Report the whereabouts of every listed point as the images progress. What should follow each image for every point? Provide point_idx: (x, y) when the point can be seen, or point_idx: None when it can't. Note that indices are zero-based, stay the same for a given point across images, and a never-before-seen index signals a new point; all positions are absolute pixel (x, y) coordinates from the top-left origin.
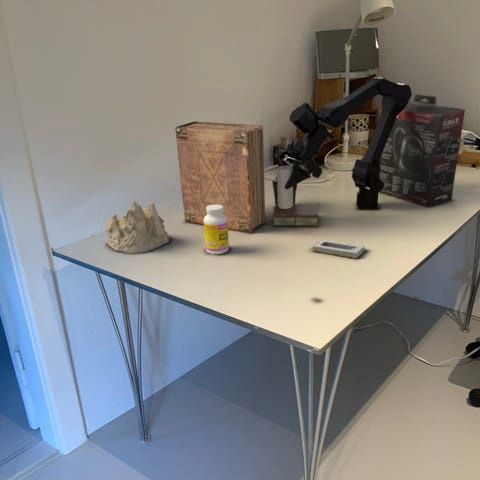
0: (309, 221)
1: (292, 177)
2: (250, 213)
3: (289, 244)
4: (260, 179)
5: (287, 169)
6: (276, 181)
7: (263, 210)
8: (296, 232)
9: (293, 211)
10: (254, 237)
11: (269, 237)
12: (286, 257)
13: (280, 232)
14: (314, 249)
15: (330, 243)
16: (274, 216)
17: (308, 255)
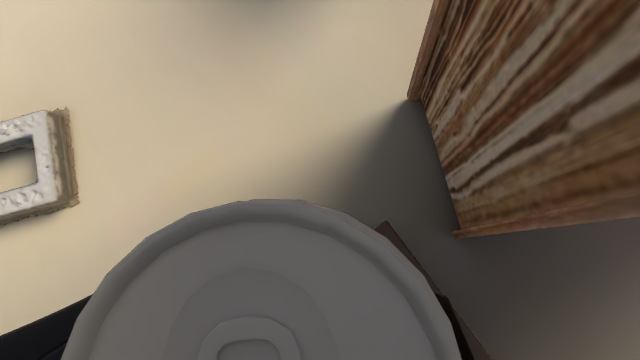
0: None
1: (84, 298)
2: (423, 41)
3: (181, 109)
4: (627, 141)
5: (117, 341)
6: (449, 313)
7: (479, 225)
8: None
9: None
10: (357, 70)
11: (301, 113)
12: (119, 12)
13: (302, 192)
14: (54, 114)
15: (14, 190)
16: (376, 226)
17: (62, 75)
